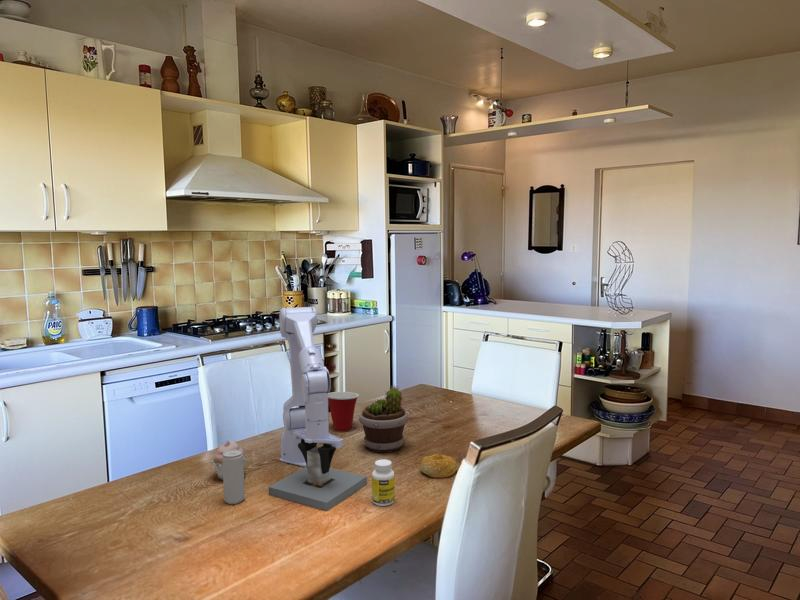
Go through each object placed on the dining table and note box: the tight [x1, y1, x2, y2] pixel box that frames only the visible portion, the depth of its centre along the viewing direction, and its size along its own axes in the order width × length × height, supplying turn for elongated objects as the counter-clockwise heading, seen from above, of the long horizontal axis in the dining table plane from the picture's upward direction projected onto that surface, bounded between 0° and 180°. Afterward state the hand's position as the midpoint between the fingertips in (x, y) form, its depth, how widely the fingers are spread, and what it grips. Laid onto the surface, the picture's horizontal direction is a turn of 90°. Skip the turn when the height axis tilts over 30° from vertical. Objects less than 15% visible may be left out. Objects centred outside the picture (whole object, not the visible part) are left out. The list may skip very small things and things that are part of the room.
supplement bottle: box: [371, 459, 396, 507], centre depth 137 cm, size 5×5×10 cm
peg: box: [307, 445, 330, 486], centre depth 144 cm, size 4×4×8 cm
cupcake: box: [211, 440, 249, 481], centre depth 153 cm, size 9×9×10 cm
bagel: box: [419, 453, 459, 479], centre depth 155 cm, size 10×11×5 cm
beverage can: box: [222, 449, 246, 505], centre depth 138 cm, size 5×5×12 cm
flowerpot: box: [358, 384, 409, 453], centre depth 173 cm, size 14×15×20 cm
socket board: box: [268, 466, 368, 512], centre depth 145 cm, size 18×17×2 cm
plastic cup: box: [327, 391, 360, 433], centre depth 190 cm, size 11×11×12 cm
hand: (318, 470), depth 144 cm, fingers closed on peg, 4 cm apart
